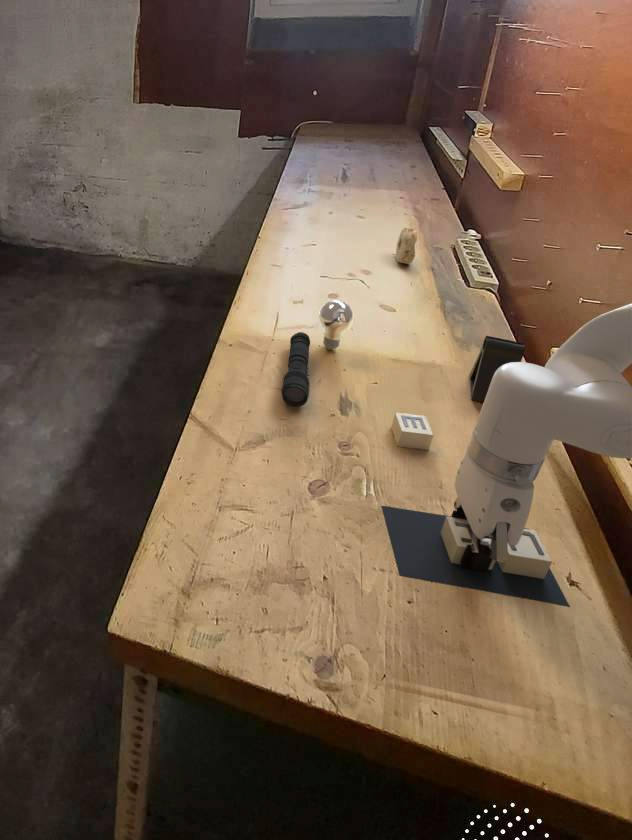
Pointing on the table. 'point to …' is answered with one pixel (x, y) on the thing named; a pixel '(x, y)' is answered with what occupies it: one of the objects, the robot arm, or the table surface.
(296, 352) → the flashlight
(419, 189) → the table surface
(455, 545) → the letter h block
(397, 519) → the mat
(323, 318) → the light bulb
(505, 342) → the phone stand
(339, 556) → the table surface
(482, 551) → the robot arm
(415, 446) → the letter e tile
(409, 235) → the stone disc
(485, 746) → the table surface
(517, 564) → the tile
